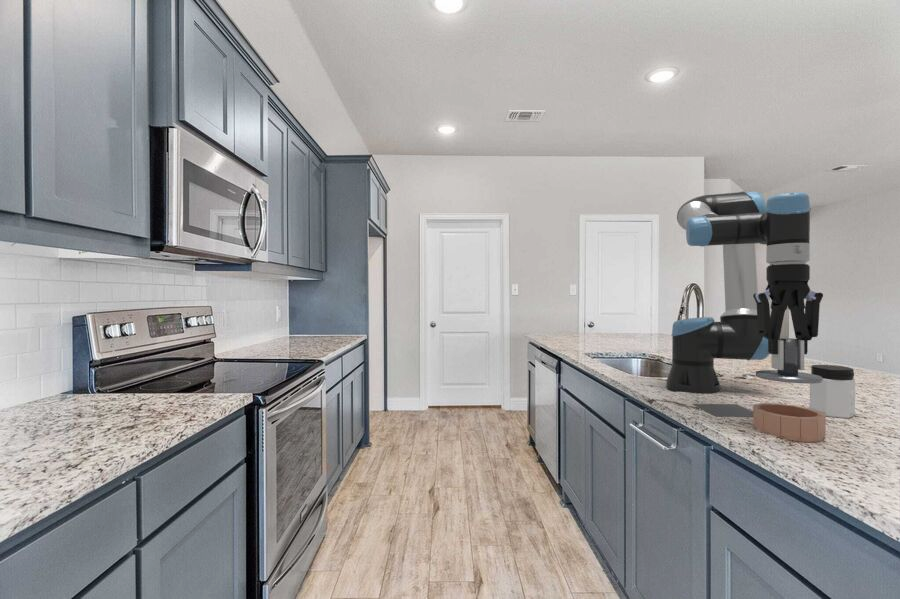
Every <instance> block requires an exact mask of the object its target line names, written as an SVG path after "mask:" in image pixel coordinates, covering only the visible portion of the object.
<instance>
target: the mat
mask: <svg viewBox="0 0 900 599" xmlns="http://www.w3.org/2000/svg"><path fill="white" fill-rule="evenodd" d="M691 405H693V406H694V407H696V408H698V409H700V410H702V411H704V412H707V413H708V414H710V415H712V416H713V417H716V418H718V417H719V418H720V417H722V418H725V417H726V418H753V410H751V409H748V408H746V407H744V406H742V405H740V404H737V403H732V404H729V403H692V404H691Z"/></svg>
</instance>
